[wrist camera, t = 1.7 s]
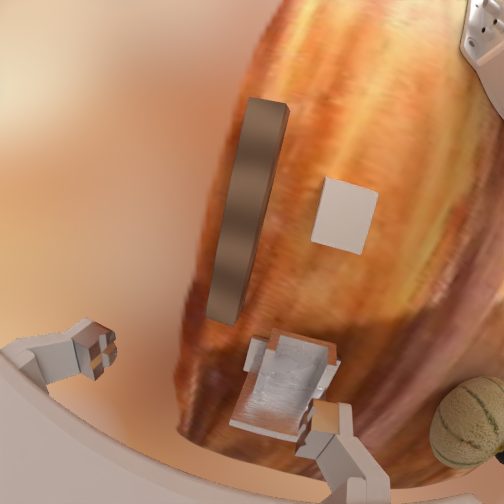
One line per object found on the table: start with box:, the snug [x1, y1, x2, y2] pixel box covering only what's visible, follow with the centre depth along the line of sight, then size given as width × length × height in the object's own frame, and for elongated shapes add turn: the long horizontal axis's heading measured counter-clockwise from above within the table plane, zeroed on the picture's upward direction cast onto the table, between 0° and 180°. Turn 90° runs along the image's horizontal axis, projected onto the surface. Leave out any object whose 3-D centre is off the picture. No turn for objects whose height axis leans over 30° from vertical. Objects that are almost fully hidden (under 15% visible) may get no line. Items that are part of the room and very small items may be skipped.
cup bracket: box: [229, 328, 341, 442], centre depth 29 cm, size 10×12×12 cm
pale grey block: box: [311, 176, 379, 255], centre depth 26 cm, size 6×5×4 cm
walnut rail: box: [205, 97, 290, 327], centre depth 29 cm, size 24×4×4 cm, turn 168°
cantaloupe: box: [430, 376, 504, 469], centre depth 24 cm, size 15×15×15 cm
